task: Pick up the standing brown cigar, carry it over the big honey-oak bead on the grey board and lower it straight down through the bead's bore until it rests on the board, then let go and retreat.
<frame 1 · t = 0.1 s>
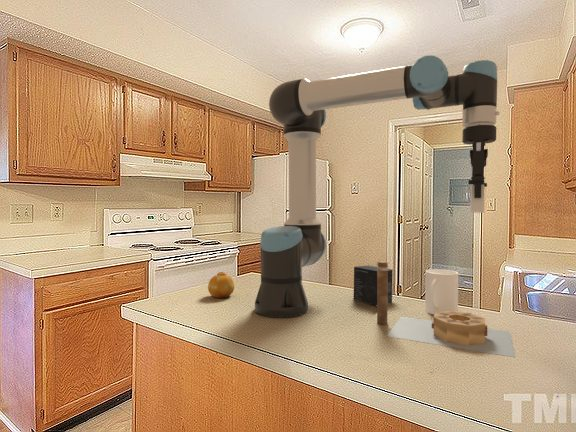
hand: (477, 212, 93), 28 cm above the counter, fingers open, 13 cm apart
fruit: (221, 297, 121), on the counter
box: (372, 302, 115), on the counter
bead: (459, 335, 81), resting on board
board: (449, 339, 83), on the counter
brown cigar: (382, 327, 90), on the counter
mug: (438, 318, 98), on the counter
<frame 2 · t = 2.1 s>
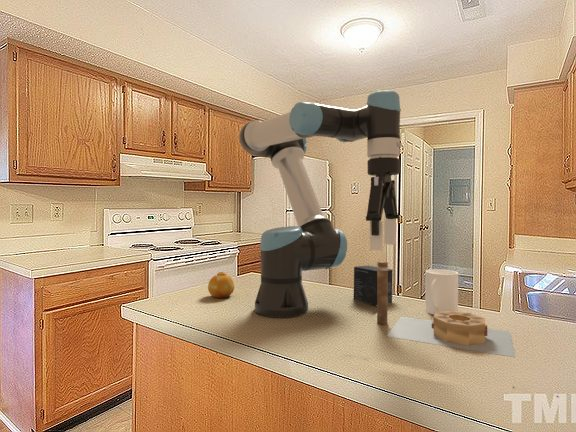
hand: (383, 247, 89), 20 cm above the counter, fingers open, 13 cm apart
nothing on the counter moved.
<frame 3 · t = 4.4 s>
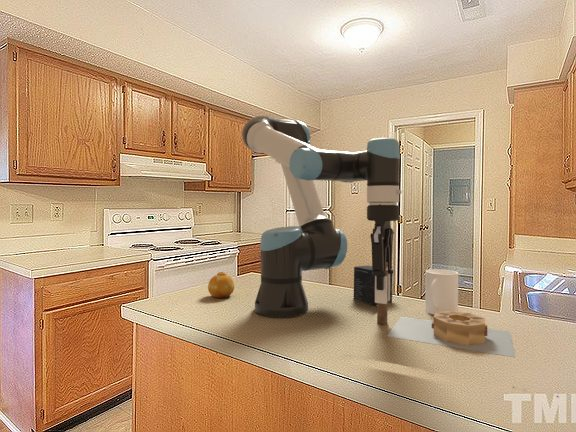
hand: (382, 301, 90), 7 cm above the counter, fingers closed on brown cigar, 2 cm apart
brown cigar: (382, 327, 90), on the counter, touching gripper
everything else where it was.
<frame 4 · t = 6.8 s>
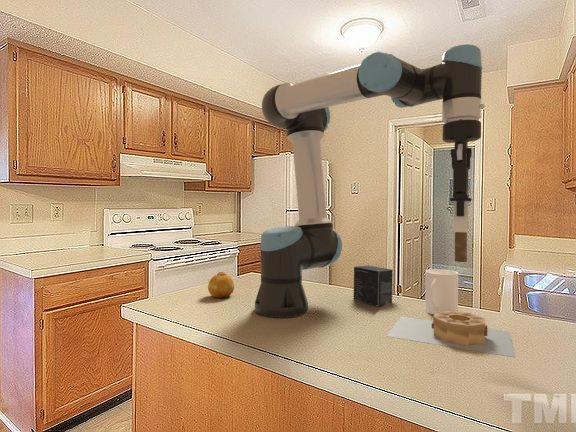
hand: (460, 231, 80), 24 cm above the counter, fingers closed on brown cigar, 2 cm apart
brown cigar: (460, 261, 81), point 18 cm above the counter, touching gripper
everything else where it was.
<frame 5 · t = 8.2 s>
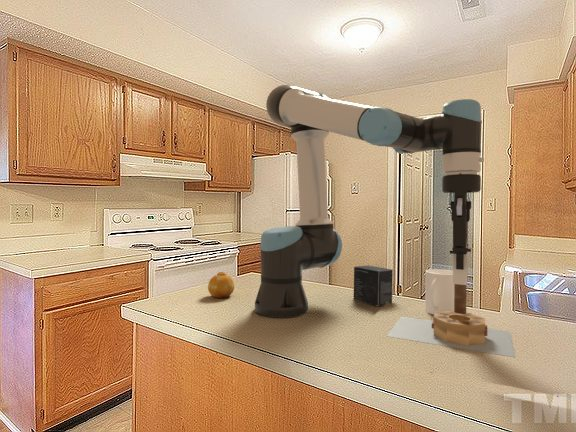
hand: (460, 282, 81), 13 cm above the counter, fingers closed on brown cigar, 2 cm apart
brown cigar: (460, 312, 81), point 6 cm above the counter, touching gripper
everything else where it was.
when the fingers open (8 cm above the counter, at t = 9.3 s): brown cigar stays where it is, resting on board.
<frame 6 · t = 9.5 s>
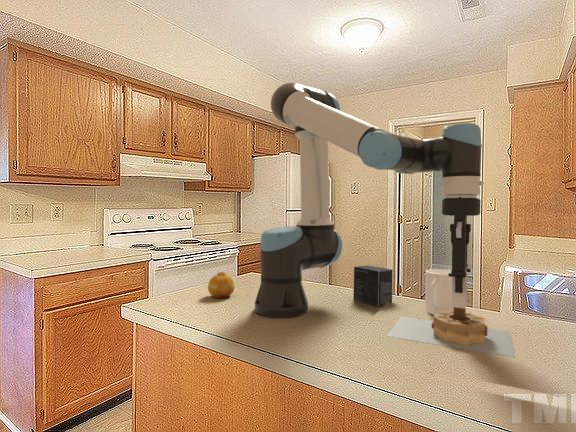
hand: (459, 304, 81), 8 cm above the counter, fingers open, 5 cm apart
brown cigar: (459, 335, 81), point 1 cm above the counter, touching board
everything else where it was.
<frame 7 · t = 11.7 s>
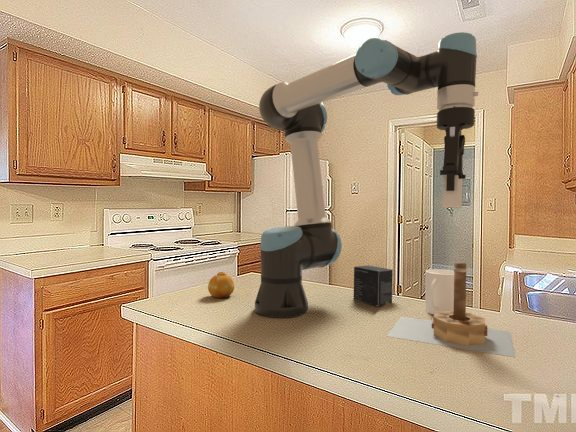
hand: (452, 207, 82), 29 cm above the counter, fingers open, 13 cm apart
nothing on the counter moved.
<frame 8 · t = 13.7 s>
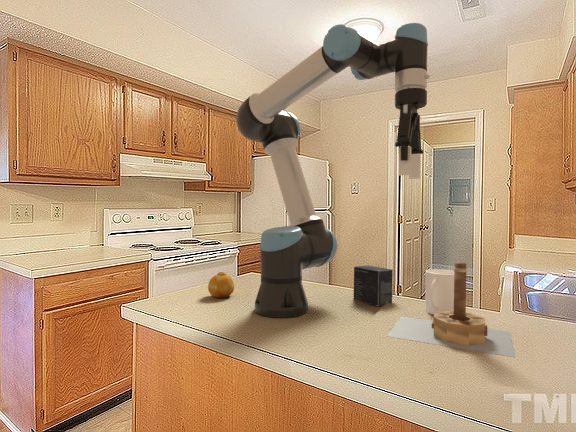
hand: (410, 177, 93), 37 cm above the counter, fingers open, 13 cm apart
nothing on the counter moved.
at the end: brown cigar 0.0 cm off-centre on the bead, point 0.0 cm above the bead's base; brown cigar tilted 0°; the gripper is holding nothing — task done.
